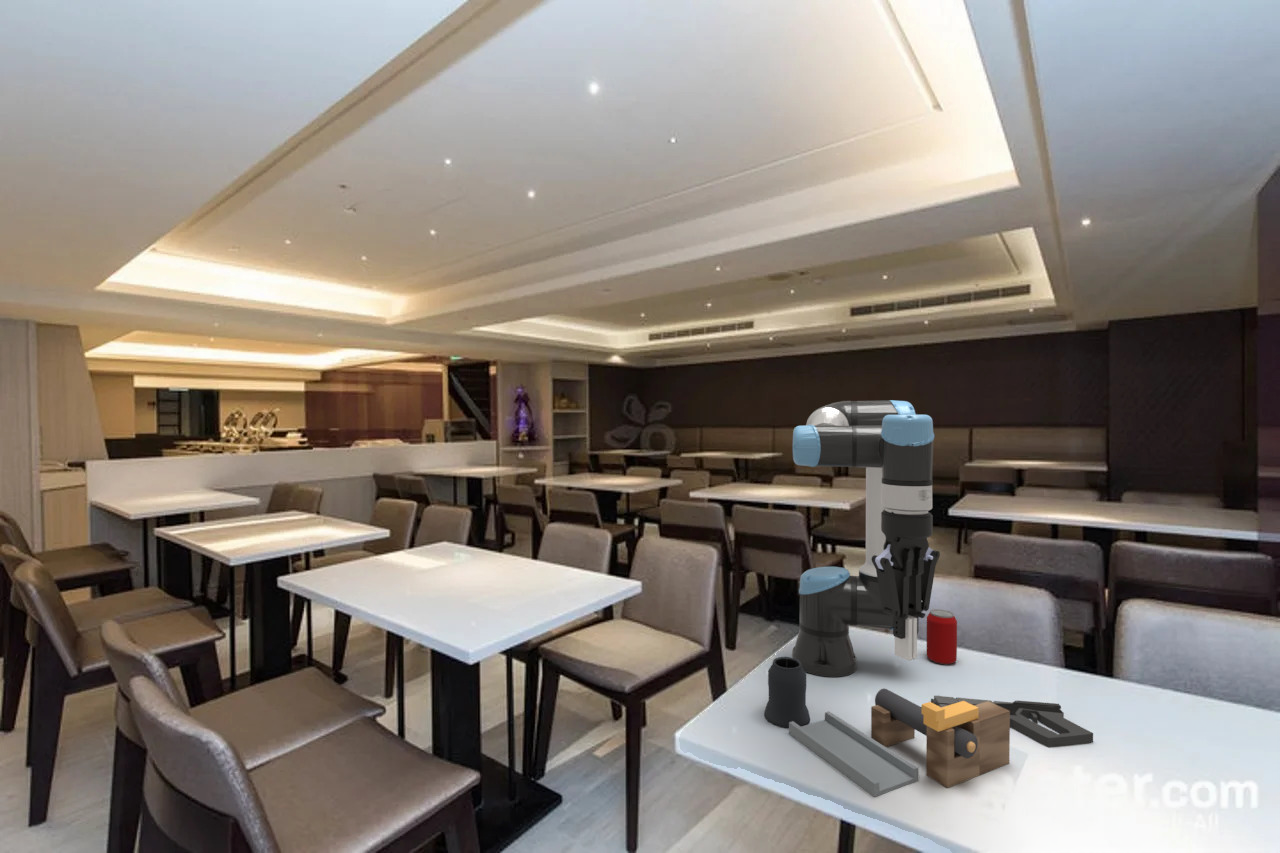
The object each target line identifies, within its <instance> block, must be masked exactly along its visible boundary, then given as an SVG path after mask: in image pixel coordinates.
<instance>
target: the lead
mask: <svg viewBox="0 0 1280 853" xmlns="http://www.w3.org/2000/svg"><path fill="white" fill-rule="evenodd" d="M874 704H875V705H879V706H880V707H882V708H884V709H886V710H888V711H889V712H890V716H892V717H894V718H896V719H897V720H899V721H901V722H903V723H904V724H906V725H908V726H910V727H912V728H913V729H915V731H917V732H919V733H920V734H923V735H924V736H926V737H927V725H925V724H924V715H923V714H922V706H920V705H918V704H916V703H914V702H913V701H910V700H908V699H906V698H905V697H902V696H901V695H899V694H897V693H895V692H893V691H891V690H889V689H888V688H880V689H879V690H878V691H877V693H876V695H875V697H874ZM875 705H874V706H875ZM951 728H952V729H954V752H956V753H957V754H959V755H961V756H963V757H965V758H971V757H972V756H973V755H974V754H975V752H976V749H977V744H978V742H977V738H976V736H975V735H974V734H972V733H970V732H968V731H966V730H964V729H962V728H960V727H959V726H954V727H951Z"/></svg>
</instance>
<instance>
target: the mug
mask: <svg viewBox="0 0 1280 853" xmlns="http://www.w3.org/2000/svg"><path fill="white" fill-rule="evenodd" d="M767 686H768V687H767V688H768V701H767V703H766V704H765V705H766V706H765V708H764V714H763V715H764V719H765V720H767V722H768V723H770V724H771V725H773V726H775V727H778V728H782V729H787V730H789V722H792V721H793V722H795V723H796V724H798V725H799V726H805V725H808V724H811V717H810V712H809V709H808V707H807V704H806V703H807V702H806V701H807V700H806V699H807V694H806V693H807V672H805V671H804V670H803V668H802V664H801V662H800V661H799V660H797V659H795V658H792V656H791V657H790V656H778V657H775V658H774V659H773V660H772V663H771V665H770V667H769V668H768V671H767Z"/></svg>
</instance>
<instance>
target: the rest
mask: <svg viewBox="0 0 1280 853" xmlns="http://www.w3.org/2000/svg"><path fill="white" fill-rule="evenodd" d="M870 710H871V711H870V712H871V713H870V717H871V719H870V720H871V721H870V728H871V729H870V730H871V733H870V738H872V739H874V740H875V741H877V742H878V743H880V744H882V745H883V746H885V747H886V748H888V747H890V746H894V745H896V744H899V743H903V742H906V741H909V740H911V739H915V731H916V730H915V729H913V728H912V727H910V726H908V725H906V724H904V723H903V722H901V721H899V720H897V719H896V718H894V717H892V716H890V712H889V711H888V710H886V709H884V708H882V707H880V706H879V705H872V706H871V708H870Z"/></svg>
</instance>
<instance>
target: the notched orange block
mask: <svg viewBox="0 0 1280 853" xmlns="http://www.w3.org/2000/svg"><path fill="white" fill-rule="evenodd" d="M921 707H922V714H923V715H924V724H925V725H927V726H929V727H930V728H932V729H934V730H936V731H938V732H939V731H942V730H945V729H948V728H951V727H954V726H957V725H960V724H963V723H966V722H969V721H972V720H975V719H978V718H979V708H978V707H976V706H974V705H972V704H969V703H967V702H965V701H961V702H958V703H954V704H951V705H948V706H945V707H942V708H941V707H939V706H937V705H935V704H933V703H931V701H928V702H925V703H922V704H921Z"/></svg>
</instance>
